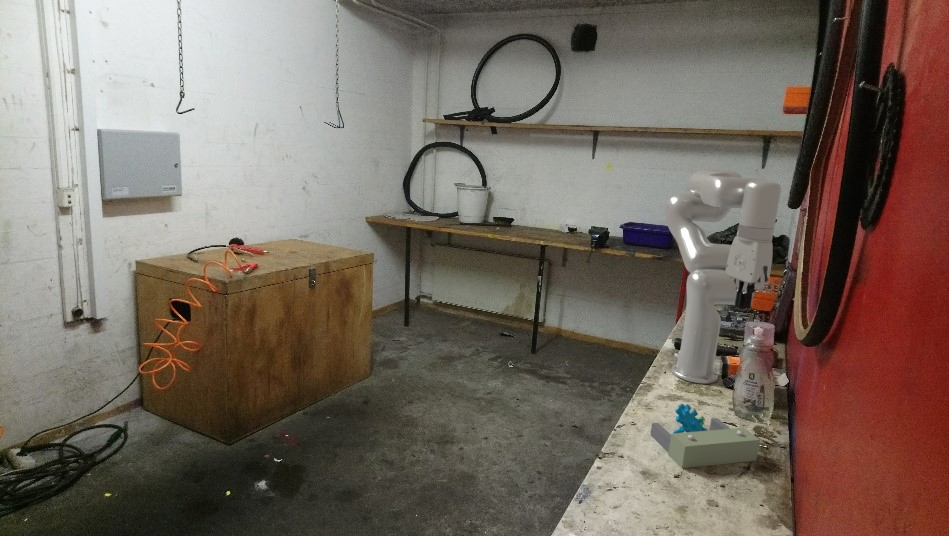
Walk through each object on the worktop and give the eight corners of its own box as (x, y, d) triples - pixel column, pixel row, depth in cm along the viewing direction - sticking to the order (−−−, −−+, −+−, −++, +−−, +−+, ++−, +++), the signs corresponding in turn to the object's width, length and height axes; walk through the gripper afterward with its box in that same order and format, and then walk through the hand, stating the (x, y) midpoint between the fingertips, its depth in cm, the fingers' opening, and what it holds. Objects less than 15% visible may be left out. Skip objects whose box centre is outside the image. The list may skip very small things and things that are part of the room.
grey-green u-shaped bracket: (648, 435, 126) (651, 412, 124) (716, 429, 130) (720, 407, 129) (681, 468, 113) (685, 443, 112) (755, 460, 118) (760, 437, 116)
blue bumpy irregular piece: (697, 449, 117) (673, 405, 122) (675, 459, 121) (652, 416, 125) (719, 439, 125) (696, 398, 129) (697, 448, 129) (676, 408, 133)
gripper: (720, 228, 136) (709, 299, 140) (764, 239, 122) (750, 318, 126) (746, 228, 138) (734, 298, 142) (792, 239, 124) (777, 317, 128)
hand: (742, 307), depth 134 cm, fingers closed
